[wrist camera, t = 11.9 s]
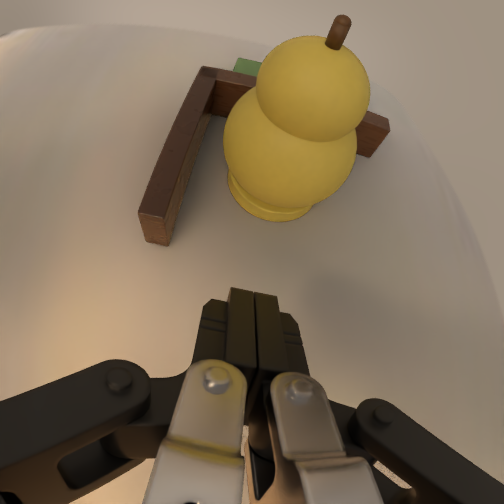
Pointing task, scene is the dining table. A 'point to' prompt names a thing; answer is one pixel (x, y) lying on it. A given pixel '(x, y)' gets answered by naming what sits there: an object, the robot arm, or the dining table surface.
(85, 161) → the dining table surface
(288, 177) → the pear
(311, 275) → the dining table surface
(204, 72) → the corner fence
